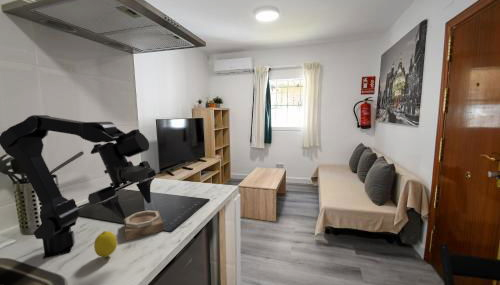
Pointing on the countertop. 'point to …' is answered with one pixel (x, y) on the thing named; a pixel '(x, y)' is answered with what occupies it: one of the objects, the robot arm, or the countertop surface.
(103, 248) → the lemon
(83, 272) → the countertop surface
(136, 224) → the wooden bowl
